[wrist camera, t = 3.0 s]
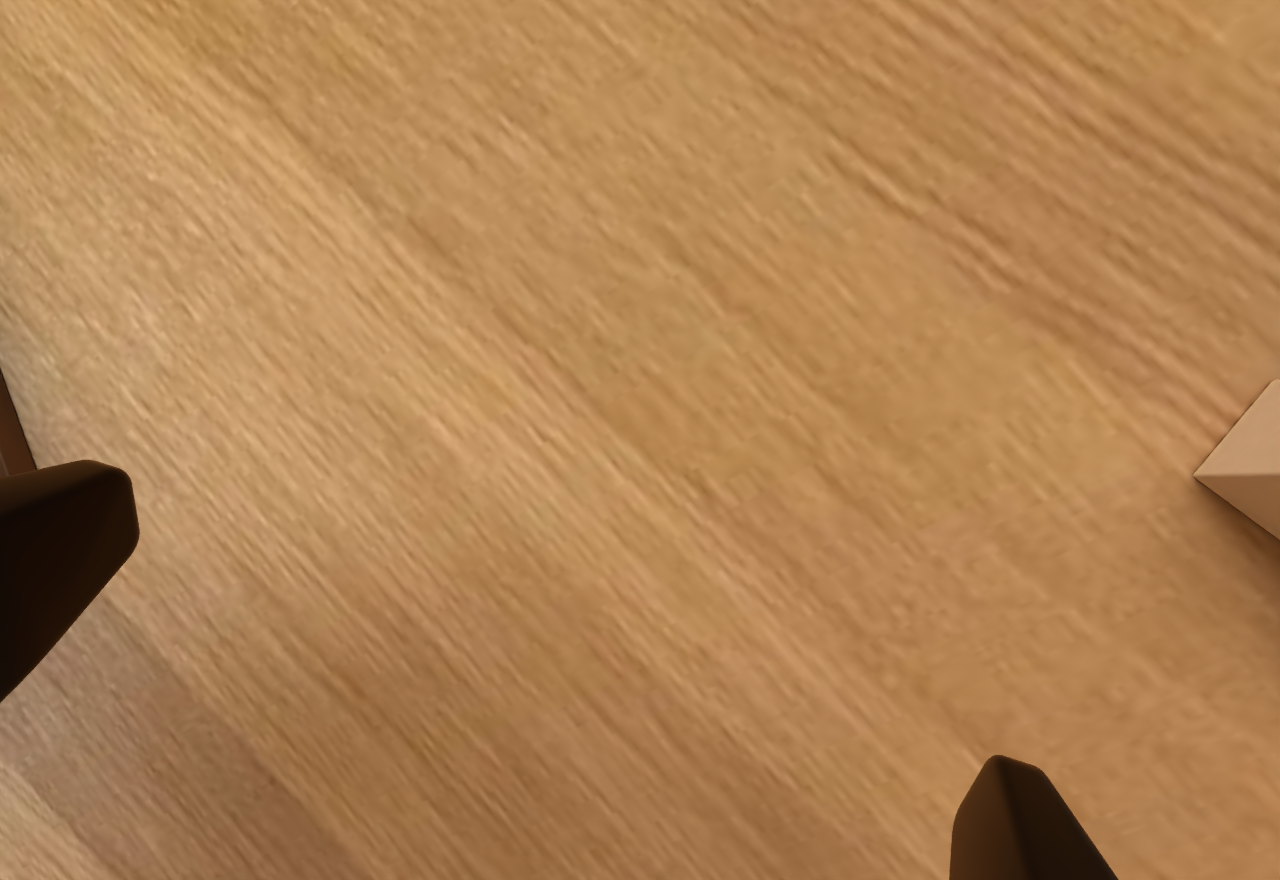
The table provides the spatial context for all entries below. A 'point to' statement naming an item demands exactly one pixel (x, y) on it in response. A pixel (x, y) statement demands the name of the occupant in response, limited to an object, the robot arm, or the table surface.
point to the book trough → (11, 439)
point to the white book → (1250, 462)
